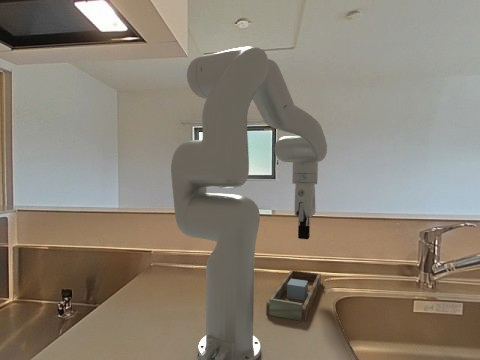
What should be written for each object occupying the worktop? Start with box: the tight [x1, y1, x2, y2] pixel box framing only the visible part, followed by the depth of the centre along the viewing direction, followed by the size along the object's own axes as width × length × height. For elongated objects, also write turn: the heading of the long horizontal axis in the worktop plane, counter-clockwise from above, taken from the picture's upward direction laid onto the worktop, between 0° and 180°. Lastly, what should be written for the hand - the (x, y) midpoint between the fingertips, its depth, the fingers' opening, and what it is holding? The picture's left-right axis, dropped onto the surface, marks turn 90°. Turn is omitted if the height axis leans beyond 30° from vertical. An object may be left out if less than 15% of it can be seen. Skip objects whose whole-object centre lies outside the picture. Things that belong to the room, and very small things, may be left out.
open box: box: [265, 269, 322, 322], centre depth 94 cm, size 28×10×4 cm, turn 158°
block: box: [286, 279, 309, 302], centre depth 95 cm, size 5×5×4 cm
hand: (303, 238), depth 102 cm, fingers closed
